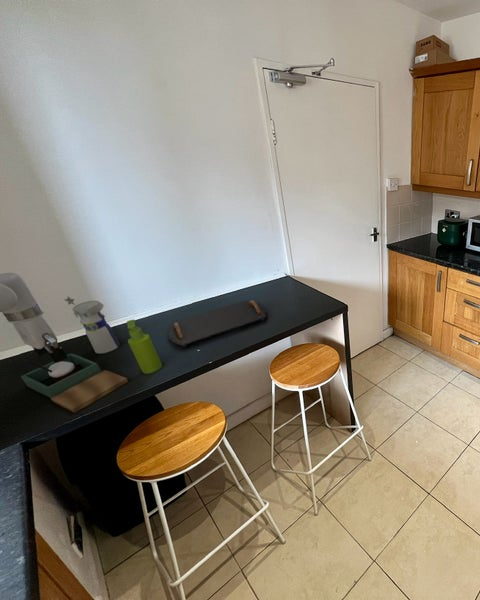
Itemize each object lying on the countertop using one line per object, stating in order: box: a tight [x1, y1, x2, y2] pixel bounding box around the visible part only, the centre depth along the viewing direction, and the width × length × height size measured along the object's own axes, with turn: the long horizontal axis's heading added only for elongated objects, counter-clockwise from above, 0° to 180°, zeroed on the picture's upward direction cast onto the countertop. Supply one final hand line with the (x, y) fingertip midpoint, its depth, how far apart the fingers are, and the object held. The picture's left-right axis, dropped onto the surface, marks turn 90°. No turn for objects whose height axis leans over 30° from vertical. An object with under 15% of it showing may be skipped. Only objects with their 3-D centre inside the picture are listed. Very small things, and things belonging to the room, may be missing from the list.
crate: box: [20, 352, 103, 399], centre depth 107 cm, size 14×16×4 cm
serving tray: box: [167, 300, 267, 349], centre depth 139 cm, size 39×23×6 cm, turn 131°
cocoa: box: [27, 359, 82, 382], centre depth 105 cm, size 10×6×12 cm, turn 133°
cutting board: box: [50, 369, 129, 414], centre depth 103 cm, size 15×12×2 cm
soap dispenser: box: [126, 319, 163, 375], centre depth 109 cm, size 6×7×20 cm
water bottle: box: [64, 296, 121, 354], centre depth 119 cm, size 8×9×25 cm
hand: (53, 356), depth 104 cm, fingers open, 9 cm apart
